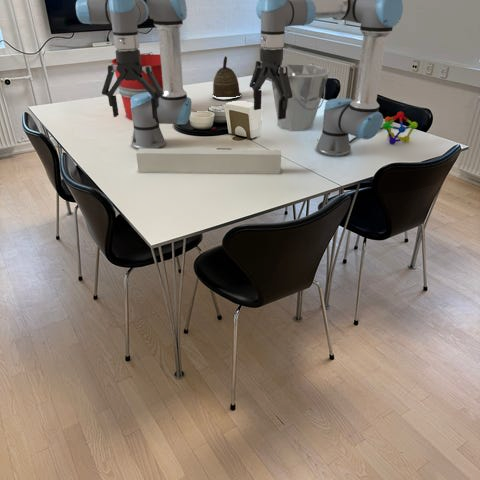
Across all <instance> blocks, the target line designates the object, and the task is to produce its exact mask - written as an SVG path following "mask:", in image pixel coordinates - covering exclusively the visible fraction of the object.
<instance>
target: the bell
mask: <svg viewBox="0 0 480 480" xmlns="http://www.w3.org/2000/svg"><path fill="white" fill-rule="evenodd" d="M227 63H228V57H227V56H224V58H223V63H222V67H221V68H219V69H218V70H217V71H216V73H215V75H214V78H213V81H212V83H213V84H212V95H214V96H216V97H236V96H240V95H241V96H242V93H241V92H240V83H239V80H238V79H239V78H238V77H237V75H236V73H235V72H234V70H232V69H231V68H230V67H227Z"/></svg>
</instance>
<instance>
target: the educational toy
mask: <svg viewBox="0 0 480 480" xmlns="http://www.w3.org/2000/svg"><path fill="white" fill-rule="evenodd" d="M397 119H399V124H400V125H399V127H398V126H393V125H391V124H392V123H394V122H395V121H396V120H397ZM403 120H404V121H405V122H407V123H408V124H409V125H407V126H404V123H403ZM382 127H383V130H386V132H387V138H388V142H389V145H395V144H396V143H397V142H402V141H403V142H404V143H409V142H410V140H411V138H410V136H411V134H412V132H413V131H414V130H415V129H417V127H418V122H417V121H411V120H410V119H409V118H408V117H406V116H405V113H404V112H403V111H401V110H400V111H398V112H397V114H396V115H394V116H391V117H390V116H386V117H385V118H384V122H383V123H382ZM392 129H393V130H397V131H398V132H396V134H395V133H394V132H392ZM408 129H409V131H408V133H407V134H406V135H404V136H401V134H403V133H405V132H406V130H408ZM399 135H400V136H399Z"/></svg>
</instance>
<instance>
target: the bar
mask: <svg viewBox="0 0 480 480" xmlns="http://www.w3.org/2000/svg"><path fill="white" fill-rule="evenodd" d="M135 154H136V161H137V170H138V173H158V174H159V173H161V174H162V173H166V174H168V173H170V174H171V173H172V174H253V175H254V174H257V175H258V174H262V175H263V174H265V175H271V174H272V175H275V174H276V175H281V168H282V166H281V165H282V150H281V149H234V148H230V149H217V148H215V149H214V148H158V149H137V151H136V153H135Z"/></svg>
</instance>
